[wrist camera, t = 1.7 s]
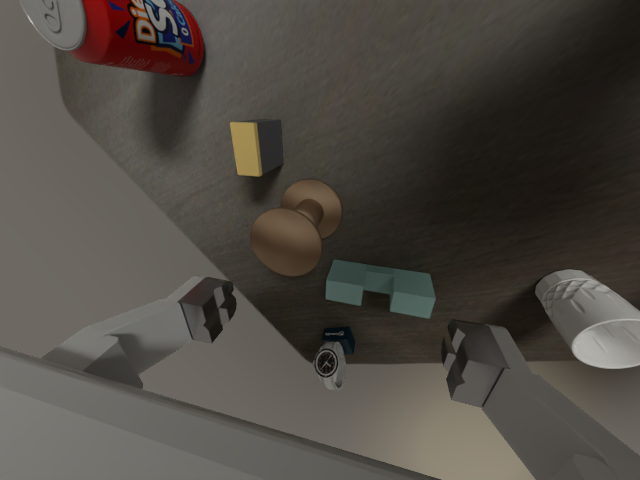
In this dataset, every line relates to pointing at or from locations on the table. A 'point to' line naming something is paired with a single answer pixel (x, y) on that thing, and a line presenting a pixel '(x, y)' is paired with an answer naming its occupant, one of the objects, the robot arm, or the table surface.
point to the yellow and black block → (257, 146)
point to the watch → (333, 356)
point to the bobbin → (297, 228)
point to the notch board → (381, 286)
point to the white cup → (591, 319)
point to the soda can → (122, 33)
